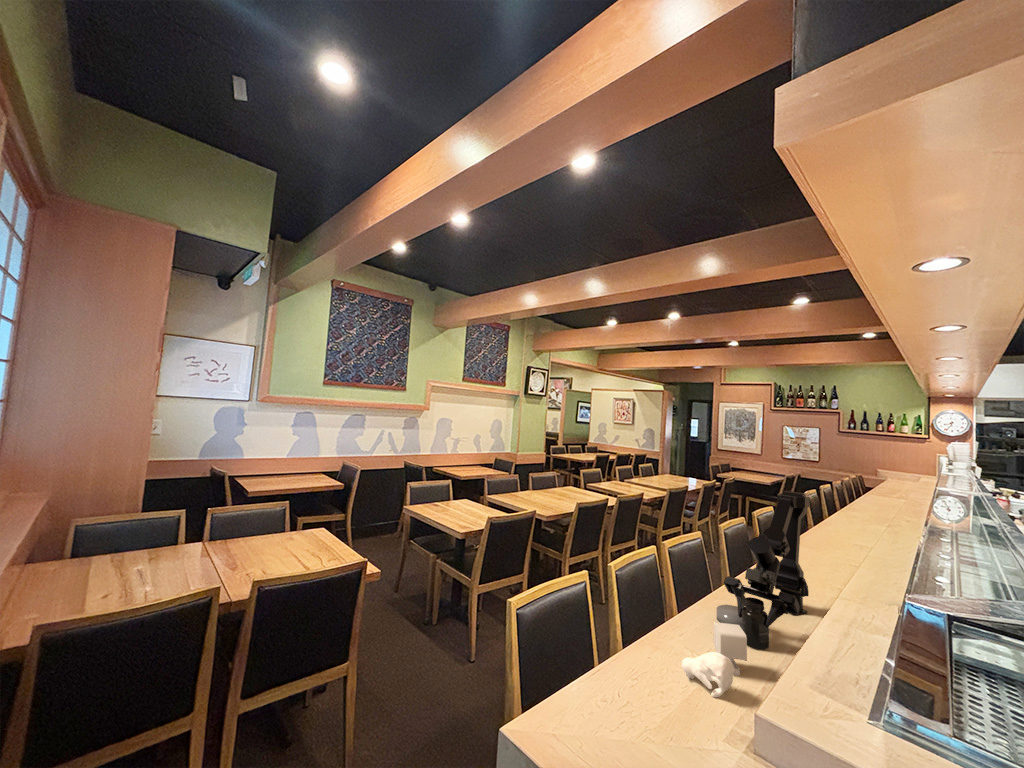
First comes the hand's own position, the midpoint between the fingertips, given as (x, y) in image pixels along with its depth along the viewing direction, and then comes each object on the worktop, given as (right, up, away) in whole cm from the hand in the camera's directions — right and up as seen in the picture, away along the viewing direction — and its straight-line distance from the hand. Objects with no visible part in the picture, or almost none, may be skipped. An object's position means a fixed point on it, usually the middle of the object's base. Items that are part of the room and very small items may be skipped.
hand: (752, 621), depth 119 cm
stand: (+2, -8, +13) cm, 15 cm away
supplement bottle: (+1, -7, 0) cm, 7 cm away
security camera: (-13, -6, -12) cm, 18 cm away
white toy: (-22, -5, -19) cm, 29 cm away
